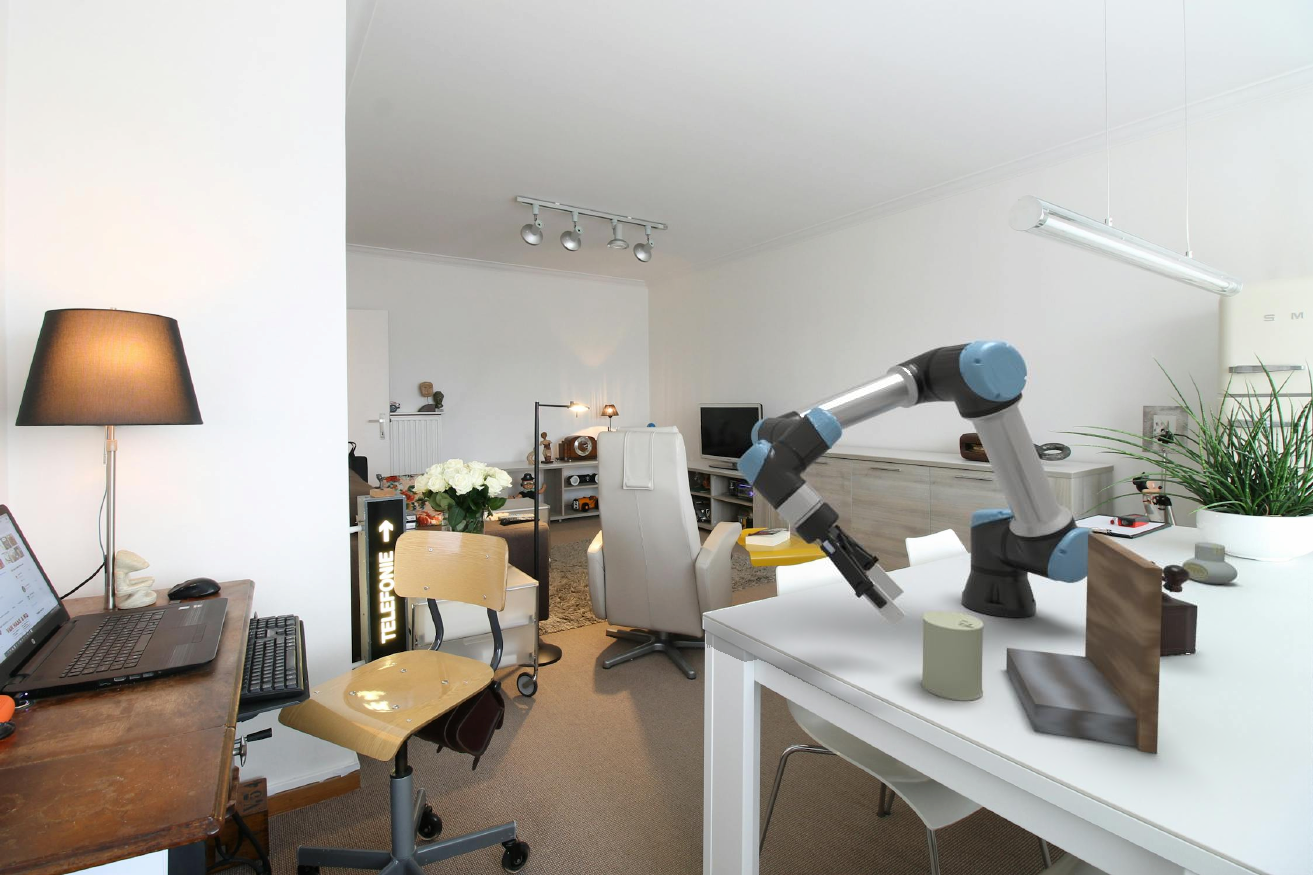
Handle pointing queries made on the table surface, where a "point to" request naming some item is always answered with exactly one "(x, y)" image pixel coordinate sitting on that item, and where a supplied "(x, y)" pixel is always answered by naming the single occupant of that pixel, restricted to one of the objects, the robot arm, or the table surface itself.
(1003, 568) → the robot arm
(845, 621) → the table surface
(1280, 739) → the table surface
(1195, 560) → the air freshener
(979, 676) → the can
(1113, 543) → the l-shaped bookend
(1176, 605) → the dark brown coffee grinder
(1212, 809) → the table surface
